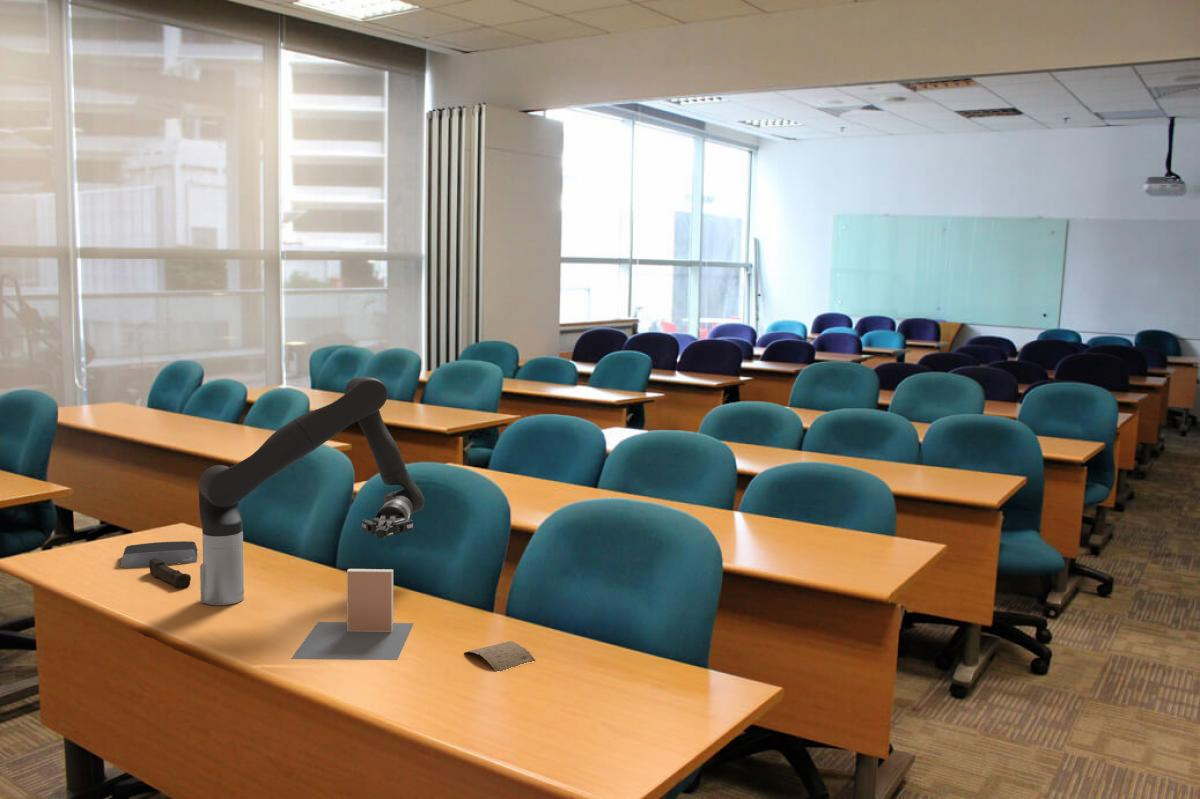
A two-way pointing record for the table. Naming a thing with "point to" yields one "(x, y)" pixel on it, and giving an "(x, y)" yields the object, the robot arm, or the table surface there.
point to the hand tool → (169, 574)
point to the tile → (370, 600)
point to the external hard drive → (159, 553)
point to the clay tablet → (504, 655)
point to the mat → (352, 643)
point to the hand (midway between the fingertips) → (380, 534)
